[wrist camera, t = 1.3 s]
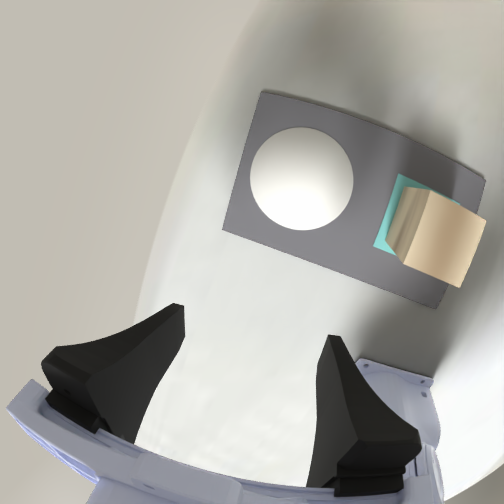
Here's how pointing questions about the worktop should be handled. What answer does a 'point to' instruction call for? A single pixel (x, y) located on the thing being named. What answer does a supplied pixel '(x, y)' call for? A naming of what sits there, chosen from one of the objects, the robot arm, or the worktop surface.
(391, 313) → the worktop surface
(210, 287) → the worktop surface
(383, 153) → the mat
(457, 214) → the maple block
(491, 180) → the worktop surface
